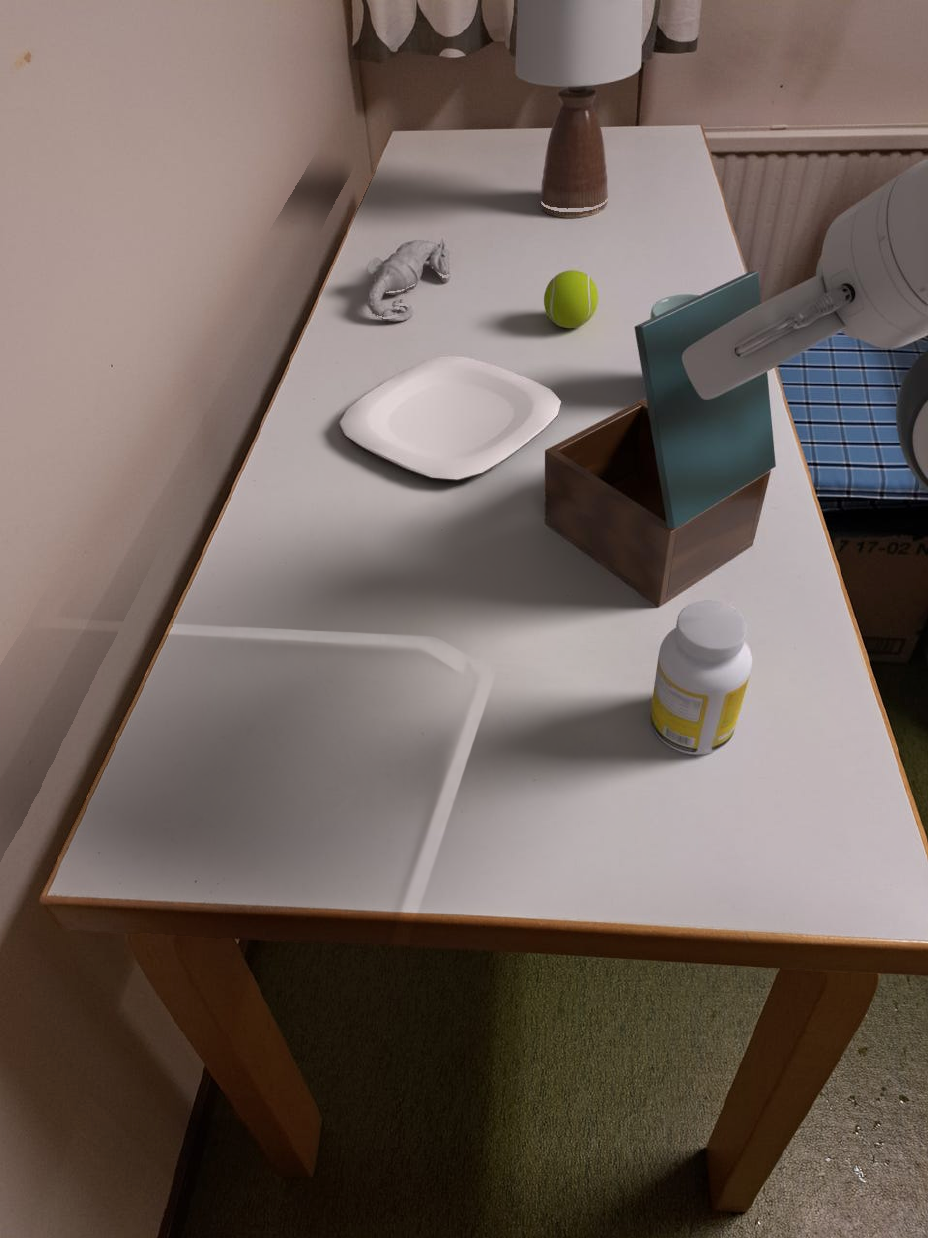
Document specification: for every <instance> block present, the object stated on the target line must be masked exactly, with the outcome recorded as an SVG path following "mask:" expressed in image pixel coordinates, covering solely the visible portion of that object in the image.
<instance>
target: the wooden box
mask: <svg viewBox="0 0 928 1238" xmlns="http://www.w3.org/2000/svg"><path fill="white" fill-rule="evenodd" d="M771 474H772V469H771V470H769V471H768V472H766V473H765V474H763V475H761V476H760V477H758V478H757V479H755V480H753V481H752V482H750V483H748V484H747V485H745V486H744V487H742V488H740V489H739V490H737V491H735V492H734V493H732V494H731V495H729V496H727V497H726V498H724V499H723V500H721V501H719V502H718V503H716V504H714V505H713V506H711V507H710V508H708V509H706V510H705V511H703V512H702V513H700V514H698V515H697V516H695V517H693V518H692V519H690V520H689V521H687V522H685V523H684V524H682V525H680V526H679V527H677V528H676V529H671V528H668V527H667V521H666V515H665V509H664V503H663V497H662V491H661V485H660V479H659V473H658V466H657V460H656V454H655V448H654V442H653V436H652V430H651V424H650V418H649V412H648V406H647V400H645V399H640V400H638V401H636V402H634V403H633V404H631V405H629V406H627V407H625V408H623V409H621V410H619V411H617V412H615V413H613V414H612V415H609V416H608V417H606V418H603V419H602V420H600V421H598V422H596V423H594V424H593V425H591V426H588V427H587V428H585V429H583V430H581V431H579V432H577V433H575V434H573V435H571V436H569V437H568V438H566V439H564V440H562V441H560V442H558V443H556V444H554V445H552V446H551V447H548V448H546V449H545V450H544V524H545V525H547V526H548V527H549V528H551V529H552V530H553V531H555V532H556V533H557V534H559V535H560V536H561V537H563V538H564V539H565V540H567V541H569V543H571V544H572V545H574V546H575V547H576V548H577V549H579V550H580V551H582V552H583V553H584V554H586V555H587V556H588V557H590V558H591V559H592V560H594V561H595V562H597V563H598V564H599V565H601V566H602V567H604V568H605V569H606V570H607V571H609V572H610V573H612V574H613V575H614V576H616V577H617V578H618V579H620V580H621V581H622V582H624V583H625V584H627V585H628V586H629V587H630V588H632V589H633V590H635V591H636V592H637V593H638V594H640V595H641V596H643V597H644V598H646V599H647V600H648V601H650V602H651V603H653V605H655V606H657V607H658V608H661V607H662V606H664V605H666V604H667V603H668V602H670V601H671V600H672V599H675V598H676V597H678V596H680V594H682V593H683V592H685V591H687V590H688V589H689V588H691V587H692V586H694V585H695V584H697V583H698V582H700V581H701V580H703V579H704V578H706V577H708V576H709V575H710V574H712V573H714V572H715V571H716V570H718V569H719V568H721V567H723V566H724V565H726V564H727V563H729V562H730V561H732V560H733V559H735V558H736V557H738V556H739V555H741V554H742V553H744V552H745V551H747V550H748V549H750V548H752V547H753V545H754V541H755V538H756V534H757V531H758V526H759V521H760V518H761V515H762V514H761V513H762V510H763V506H764V501H765V497H766V493H767V490H768V485H769V480H770V476H771Z"/></svg>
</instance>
